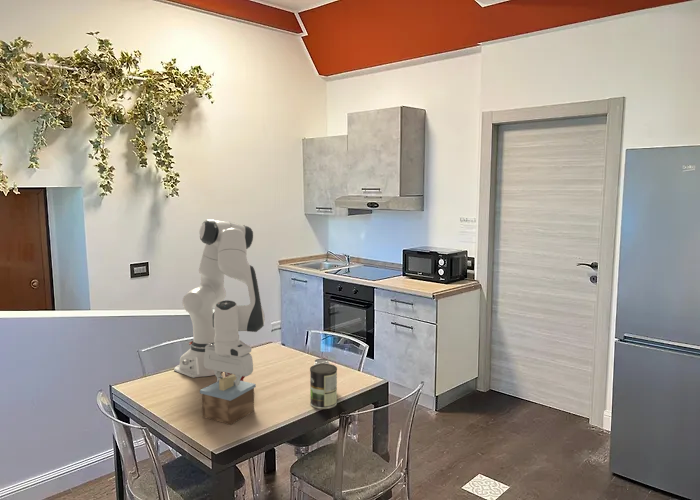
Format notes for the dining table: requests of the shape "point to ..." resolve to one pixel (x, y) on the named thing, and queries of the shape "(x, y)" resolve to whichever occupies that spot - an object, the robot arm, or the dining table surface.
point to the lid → (227, 388)
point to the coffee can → (323, 386)
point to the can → (321, 361)
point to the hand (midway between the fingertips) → (228, 383)
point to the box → (228, 407)
